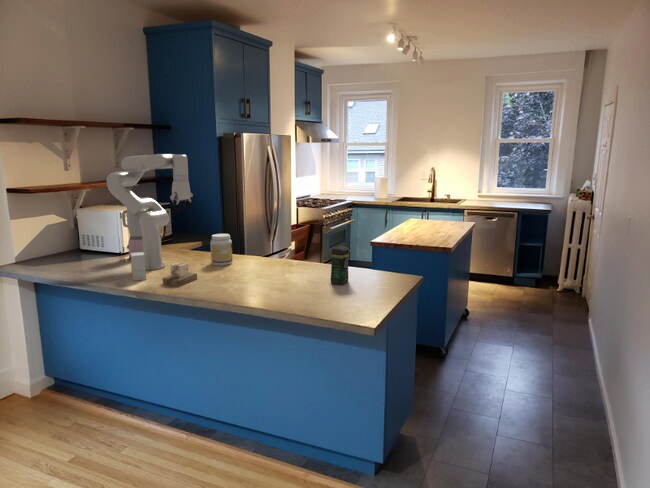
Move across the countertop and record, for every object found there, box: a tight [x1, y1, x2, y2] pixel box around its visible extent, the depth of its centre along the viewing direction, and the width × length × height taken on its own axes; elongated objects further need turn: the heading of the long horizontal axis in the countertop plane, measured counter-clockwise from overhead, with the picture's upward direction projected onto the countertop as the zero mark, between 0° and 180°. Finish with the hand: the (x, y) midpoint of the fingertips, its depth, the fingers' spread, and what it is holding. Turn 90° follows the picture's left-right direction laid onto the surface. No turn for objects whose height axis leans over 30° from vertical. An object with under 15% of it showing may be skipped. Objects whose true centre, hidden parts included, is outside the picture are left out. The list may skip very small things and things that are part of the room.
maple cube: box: [170, 261, 190, 278], centre depth 240 cm, size 6×6×6 cm
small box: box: [130, 252, 147, 282], centre depth 244 cm, size 8×6×13 cm
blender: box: [121, 208, 143, 260], centre depth 288 cm, size 16×12×32 cm
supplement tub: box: [209, 233, 233, 267], centre depth 277 cm, size 12×12×17 cm
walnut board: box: [162, 271, 198, 287], centre depth 240 cm, size 10×14×3 cm
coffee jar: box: [330, 245, 350, 285], centre depth 239 cm, size 10×8×19 cm
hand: (182, 210), depth 254 cm, fingers open, 9 cm apart
